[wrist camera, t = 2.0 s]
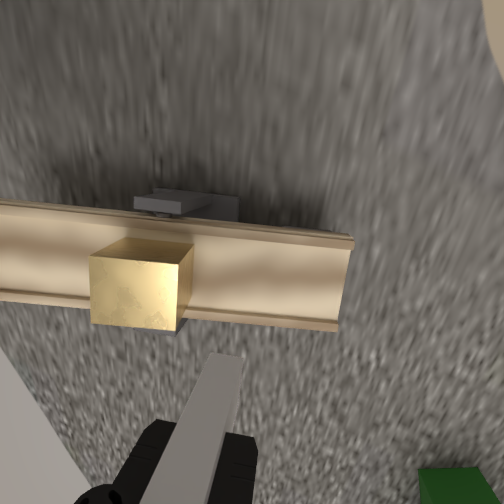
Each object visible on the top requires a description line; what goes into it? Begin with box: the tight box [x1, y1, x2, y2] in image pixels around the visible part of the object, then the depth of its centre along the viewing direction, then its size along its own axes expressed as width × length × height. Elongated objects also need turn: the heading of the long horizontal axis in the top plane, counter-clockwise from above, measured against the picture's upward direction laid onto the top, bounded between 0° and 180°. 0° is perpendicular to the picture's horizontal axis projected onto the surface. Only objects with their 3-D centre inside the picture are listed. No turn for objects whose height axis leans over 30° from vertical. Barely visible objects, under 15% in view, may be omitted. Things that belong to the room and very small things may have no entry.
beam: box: [0, 198, 355, 332], centre depth 28 cm, size 10×33×8 cm, turn 84°
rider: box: [88, 237, 195, 331], centre depth 24 cm, size 5×6×6 cm
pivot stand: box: [133, 187, 240, 337], centre depth 31 cm, size 12×10×12 cm
